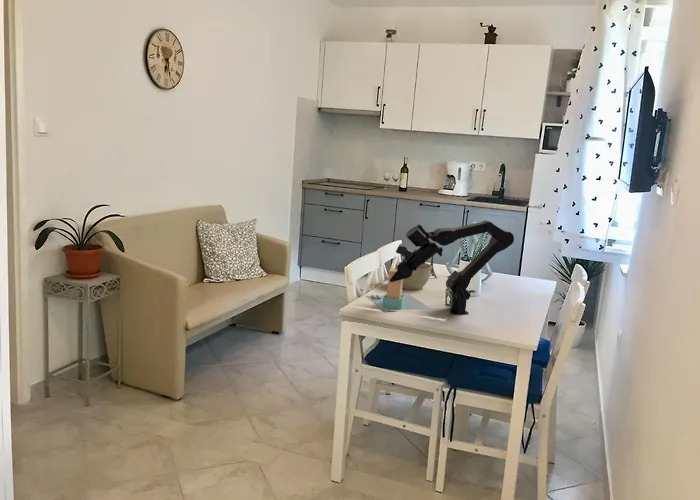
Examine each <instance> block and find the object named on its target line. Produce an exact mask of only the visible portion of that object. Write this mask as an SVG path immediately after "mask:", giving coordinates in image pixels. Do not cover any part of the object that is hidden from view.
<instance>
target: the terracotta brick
mask: <svg viewBox="0 0 700 500" xmlns="http://www.w3.org/2000/svg"><path fill="white" fill-rule="evenodd" d="M396 272H397V269H396V268H393V267H392V268H390V269H389V270H388V279H387V290H386V293H387V297H388V298H396V299H401V297H402V295H403V287H402V286H403V279H402V280H398V281H394V282H390V281H389V280H390V279H391V277H392V276H393V275H394V274H395V273H396Z"/></svg>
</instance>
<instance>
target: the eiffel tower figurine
mask: <svg viewBox="0 0 700 500" xmlns="http://www.w3.org/2000/svg"><path fill="white" fill-rule="evenodd" d="M430 259H431V260H430V265H431V266H432V269H431V274H430V276H435V278H434V279H438V277H437V275H436V273H435V270H434V256H432V257H431V258H430Z"/></svg>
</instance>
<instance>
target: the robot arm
mask: <svg viewBox="0 0 700 500" xmlns="http://www.w3.org/2000/svg"><path fill="white" fill-rule="evenodd" d="M484 233H487V234H488V235H490V236H491V237H490V239H489V242H488V244H487V245H486V246H485V247H484V248H483V249H482V251H480V252H479V253H478V254H476V256H475V257H474V258H473V259H472V260H471V261H470V262H469V263H468V264H467V265H466V266H465V267H463V269H461V270H460V271H457V270H454V271H453V272H452V273H451V274H450V275H449V276H447V279H446V281H445V286H446V287H445V288H447V290H448V291H449V294H450V295H451V296H450V297H451V298H450V304H449V305H450V306H449V308H450V313H452V314H454V315H467V314H469V311H467V310H466V308H467V301H468V300H470V298H471V292H470V291H469V290H468V289H466V288H467V287H468V285H469V283H470V280H471V278H474V277H475V276H476V275H477V274H478V273H479V271H481V270H482V268H483V267H485V266H486V265H487V263H489V262H490V260H492V258H494V257H495V256H496V255H497V254H498V253H501V252H502V251H504V250H506V249H508V248H509V247H510V246H512V245H513V244H514V242H515V236H514V234H513V233H512V232H510V231H508V230H506V229H504V228H503V229H502V228H500V227H498V226H497V225H495V224H494V223H493V222H492V221H489V220H482V221H480V222H476V223H471V224H470V223H469V224H467V225H462V226H458V227H440V228H436V229H435V230H434V231H428V232H427V231H426V230H425V229H424V228H423V226H422V225H421V224H420V223H419V224H417V225H415V226H414V227H412V228H410V229H409V230H408V231H407V232H406V234H405V237H406V238H407V239H408V240H409V241H410V242H411V243H412V245H414V246H415V247H418V248H417V249H411V248H410V247H408V246H407V245H406V244H403V243H399V245H398V247H396V250H395V253H397V254H399V255H401V256H402V257H404V258H403V259H402V262H401V263H400V264H398V266H397V272H396V273H395V274H394V275H393V276H392V277H391V279H390V280H389V281H390V282H394V281H398V280H402V279H407V278H409V277H410V276H412V274H413V271H415V270H417V268H418V267H420V266H421V265H422V264H424V263H426V262H428V260H430V259H432V256H433V257H434V256H435V255H436V254H437V255H438V256H439V257H442V256H443V251H444V249H443V247H445V246H448V245H450V244H452V243H455V242H456V241H457V240H460V239H463V238H467V237H472V236H476V235H480V234H484ZM432 241H433V242H432ZM436 243H437V244H436ZM438 245H440V246H441V247H440V246H438ZM442 246H443V247H442ZM474 275H475V276H474Z"/></svg>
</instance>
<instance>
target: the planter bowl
mask: <svg viewBox="0 0 700 500" xmlns="http://www.w3.org/2000/svg"><path fill="white" fill-rule="evenodd" d="M402 261H403V260H402ZM402 261H397V262H395V263H394V264H395V269H397V266H398V264H400V263H401V262H402ZM430 264H431V263H430ZM430 264H429V263H428V262H427V263H426V262H425V263H424V264H422V265H421V266H420V267H418V268H417V270H415V271H413V274H412V276H410V277H409V278H407V279H403V286H402V289H407V290H415V291H417V290H422V289H423V288H424V287H425V285H426V284H427V282H429V280H430V278H429V277H430V276H431V275H432V274H431V269H432V266H431V265H430ZM430 274H431V275H430Z"/></svg>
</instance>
